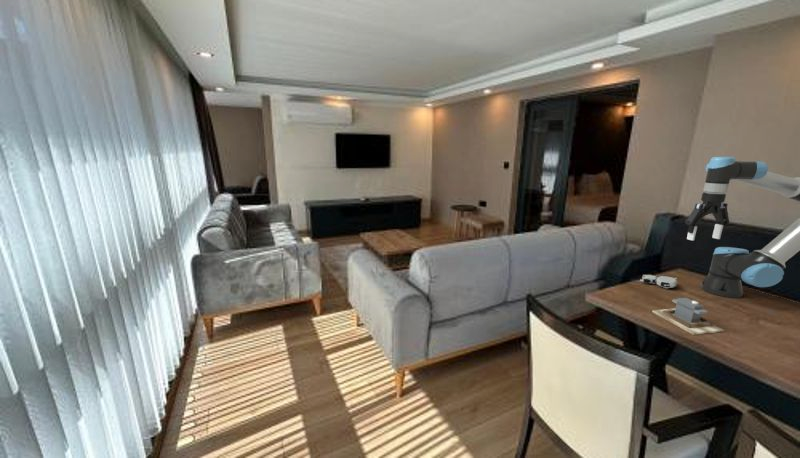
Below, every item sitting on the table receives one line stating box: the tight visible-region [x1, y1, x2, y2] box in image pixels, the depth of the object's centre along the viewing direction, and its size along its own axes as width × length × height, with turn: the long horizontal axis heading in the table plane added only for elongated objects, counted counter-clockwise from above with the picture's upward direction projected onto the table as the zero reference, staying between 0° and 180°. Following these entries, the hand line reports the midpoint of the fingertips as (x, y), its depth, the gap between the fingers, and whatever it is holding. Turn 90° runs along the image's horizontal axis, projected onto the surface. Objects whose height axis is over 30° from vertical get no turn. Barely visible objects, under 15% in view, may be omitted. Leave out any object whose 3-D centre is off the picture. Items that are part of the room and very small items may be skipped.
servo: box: [672, 297, 708, 323], centre depth 133 cm, size 4×11×9 cm, turn 8°
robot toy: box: [639, 274, 678, 289], centre depth 169 cm, size 12×4×15 cm
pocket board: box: [652, 307, 725, 336], centre depth 134 cm, size 14×18×2 cm
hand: (703, 239), depth 144 cm, fingers open, 13 cm apart
